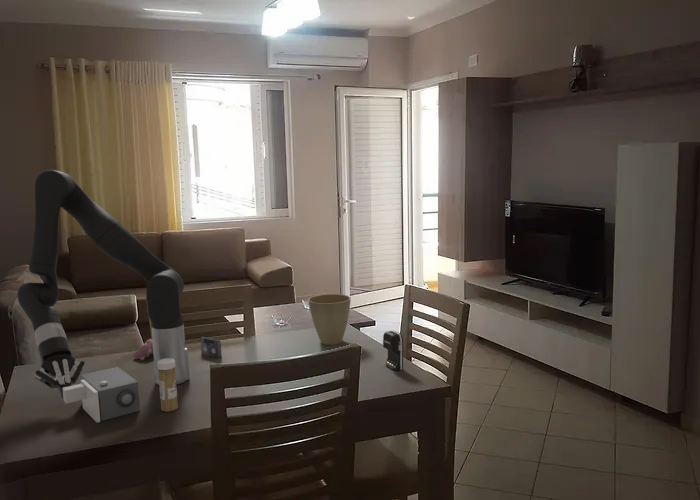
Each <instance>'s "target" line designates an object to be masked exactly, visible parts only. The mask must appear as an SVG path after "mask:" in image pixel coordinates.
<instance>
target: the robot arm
mask: <svg viewBox="0 0 700 500" xmlns="http://www.w3.org/2000/svg"><path fill="white" fill-rule="evenodd" d="M34 202H35V205H34V210H35V212H34V229H33V237H32V238H33V239H32V245H31V251H30V256H29V257H30V258H29V263H28V271H29V272H30V273H31V274H33V275H37V276H41V278H42V280H43V282H24V283H22V284H21V285H20V286H19V288H18V290H17V293H16V294H17V295H16V296H17V301H18V303H19V306H20V308H21V309H22V310H23V312H24V313H25V314H26V316H27V318H28V319H29V320H30V321H31V322H30V323H31V324H32V328H33V333H34V336H35V338H34V339H35V342H36V345H35V346H36V348H37V350H38V354H39V357H40V361H41V365H40V369H38V370H36V371H35V374H34V378H35V379H36V380H38V381H40V383H42V384H44V385H45V386H47V387H49V388H50V389H58V390H59V394H60V397H61V398H62V400H64V399H63V389H62V388H64V387H69V386H72V385H76V383H77V381H78V379H79V377H80V376H81V373H82V371H83V369H84V366H85V361H84V360H80V361H78V360H76V358H75V357H74V356H73V354H72V351H71V348H70V345H69V342H68V338H67V335H66V333H65V330H64V328H63V325H62V322H61V318H60V315H59V313H58V311H57V310H56V309H54V308H53V306H55V305H56V304H57V302H58V300H59V297H60V294H59V285H58V279H57V278H58V277H57V267H58V266H57V265H58V258H59V251H60V235H59V219H60V218H59V215H60V211H61V209H63V211H66V212H67V214H69V215H70V216H72V217H73V218H74V219H75V221H76V222H78V224H79V226H80V227H81V229H82V230H83V231H84V233H85V234H86V235H87V237H88V238H89V240H91V242H93V243H94V244H95V246H96V247H98V248H99V249H100V250H101V251H102V252H103V253H104V254H105V255H107V256H108V257H109V258H111V259H112V260H114V261H116V262H118V263H119V264H121V265H124V266H126V267H128V268H129V269H131V270H133V271H135V272H136V274H138V275H139V276H141V277H142V278H143V280H144V281H146V282H147V283H146V288H145V290H146V291H145V294H146V303H147V304H146V305H147V312H148V313H147V314H148V318H149V321H150V323H151V324H150V326H151V336H152V338H151V339H152V341H153V354H152V355H153V365H154V366H153V367H154V380H155V384H156V385H158V386H159V370H158V367H157V362H158V361H159V360H161V359H166V358H172V359H174V360H175V377H176V386H177V385H179V384H182V383H185V382H186V381H189V380H191V376H190V374H191V373H190V362H189V360H190V359H189V349H188V347H186V341H185V339H186V337H185V324H184V323H185V321H184V315H183V313H182V312H181V307H180V295H181V294H183V291H184V287H185V284H184V280H183V278H182V277H181V275H180V273H178V272H177V271H176V270H174V269H173V268H172V267H170V266H169V265H167V264H166V263H165V262H163V261H162V260H161V259H160V258H158V257H157V256H156V255H154V254H153V253H152V252H151V251H150V250H149V249H148V248H147V247H146V246H145V244H143V243H142V242H141V241H140V240H139V239H137V237H136V236H134V234H132V232H131V231H130V230H129V229H127V227H125V226H124V225H123V224H122V223H121V222H120V221H118V220H117V219H116V218H115V217H114V216H113V215H112V214H111V213H109V212H108V211H106V209H104V208H103V207H102V206H100V205H99V204H97V203H96V202H95V201H93V199H91V197H90V196H88V194H87V192H85V191H84V190H83V188H81V186H80V185H79V184H78V183H77V182H76V180H74V178H73V177H72V176H71V175H69V174H68V173H66V172H63V171H60V170H55V169H47V170H43V171H42V172H41V173H39V174H38V175H37V177H36V179H35V182H34ZM73 368H74V369H75V371H74V373H73V375H72V376H71V375H70V374H71V372H72V370H73ZM47 374H48V375H47ZM52 377H53V378H52Z"/></svg>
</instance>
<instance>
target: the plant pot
mask: <svg viewBox="0 0 700 500" xmlns="http://www.w3.org/2000/svg"><path fill="white" fill-rule="evenodd" d="M351 299H352V298H351V296H349V295H347V294H346V295H345V294H339V293H338V294H337V293H328V294H319V295H314V296H311V297H309V298H308V305H309V309H310V314H311V317H312V323H313V325H314V328H315V331H316V334H317V336H318V339H319V341H320V343H321V344H323V345H325V346H335V345H339V344H341V343H342V342H343V339H344V335H345V332H346V329H347V326H348V321H349V316H350V315H349V314H350V308H351V307H350V306H351Z"/></svg>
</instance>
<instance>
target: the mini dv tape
mask: <svg viewBox="0 0 700 500" xmlns="http://www.w3.org/2000/svg"><path fill="white" fill-rule="evenodd" d="M200 350H201V351H200V352H201V354H200V355H203V356H206V357H212V358H214V359H220V358H222V356H223V355H222V342H221V340H219V339H215V338H210V337H205V336H201V337H200Z"/></svg>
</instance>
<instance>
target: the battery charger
mask: <svg viewBox="0 0 700 500" xmlns="http://www.w3.org/2000/svg"><path fill="white" fill-rule="evenodd" d="M382 347H383V348H385V349H386V350H387V359H386V360H385V367H387V368H389V369H390V370H393V371H402V370H403V369H404V338H403V335H402V333H400V332H398V331H396V330H389V331H385V332H384V333H383V337H382Z"/></svg>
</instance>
